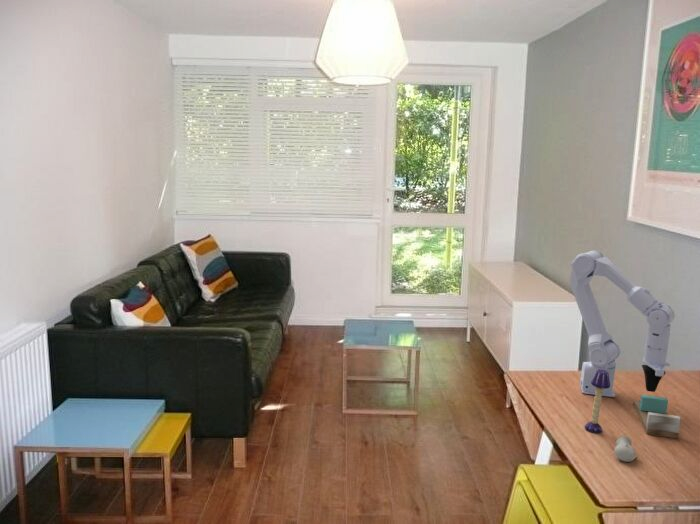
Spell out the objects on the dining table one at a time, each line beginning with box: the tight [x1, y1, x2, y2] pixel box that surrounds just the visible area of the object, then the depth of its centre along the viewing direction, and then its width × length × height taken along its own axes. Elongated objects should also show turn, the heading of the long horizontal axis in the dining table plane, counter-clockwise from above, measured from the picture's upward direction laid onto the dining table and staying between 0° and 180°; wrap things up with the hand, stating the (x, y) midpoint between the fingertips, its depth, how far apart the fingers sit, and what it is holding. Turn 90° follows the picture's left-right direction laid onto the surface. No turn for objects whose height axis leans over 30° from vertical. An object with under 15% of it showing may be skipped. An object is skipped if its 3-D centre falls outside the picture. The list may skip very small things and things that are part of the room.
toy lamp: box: [584, 369, 610, 434], centre depth 155 cm, size 5×5×17 cm
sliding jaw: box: [639, 394, 669, 414], centre depth 164 cm, size 6×2×4 cm, turn 75°
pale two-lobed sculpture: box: [613, 435, 638, 463], centre depth 143 cm, size 4×8×5 cm
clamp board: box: [632, 399, 682, 439], centre depth 162 cm, size 8×19×6 cm, turn 165°
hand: (650, 390), depth 171 cm, fingers closed
